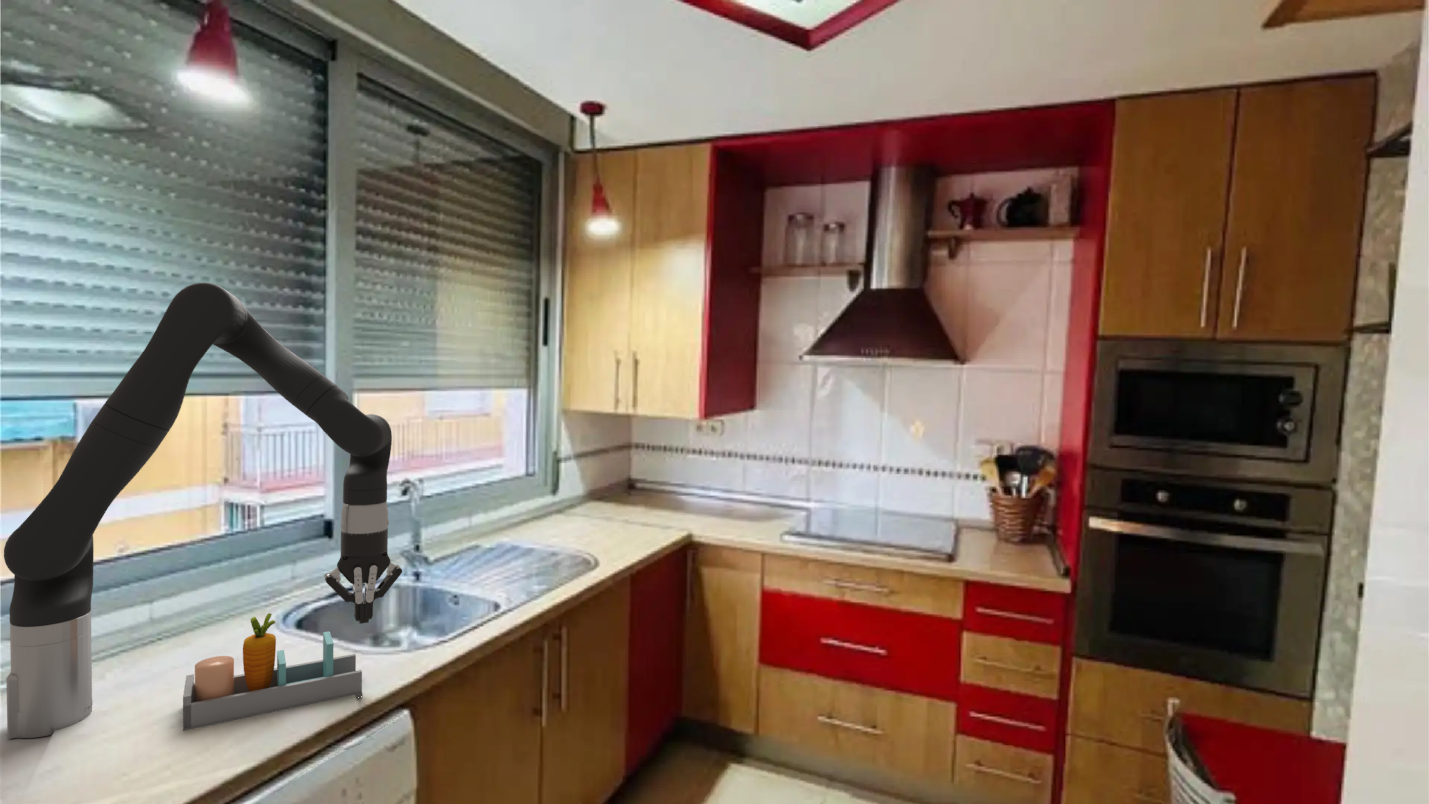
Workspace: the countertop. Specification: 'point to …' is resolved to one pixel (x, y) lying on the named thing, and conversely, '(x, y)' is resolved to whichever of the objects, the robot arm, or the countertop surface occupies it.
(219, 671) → the pink cylinder
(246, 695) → the tray
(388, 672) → the countertop surface
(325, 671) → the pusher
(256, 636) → the carrot
